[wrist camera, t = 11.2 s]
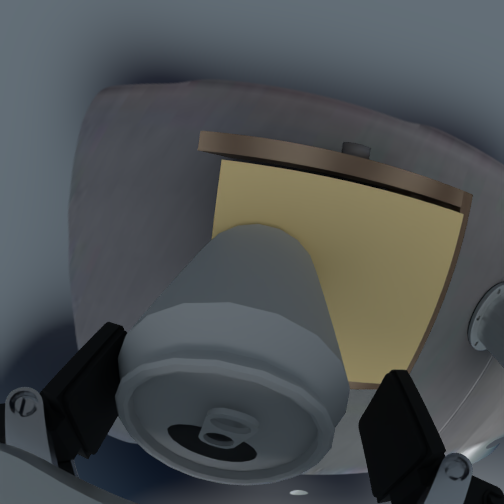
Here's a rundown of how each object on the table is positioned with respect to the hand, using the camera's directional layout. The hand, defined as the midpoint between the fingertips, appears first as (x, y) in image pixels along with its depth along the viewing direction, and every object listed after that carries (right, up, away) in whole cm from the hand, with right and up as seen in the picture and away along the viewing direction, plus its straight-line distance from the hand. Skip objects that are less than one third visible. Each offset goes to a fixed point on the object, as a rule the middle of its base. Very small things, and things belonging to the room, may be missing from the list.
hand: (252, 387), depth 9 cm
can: (0, +3, +9) cm, 9 cm away
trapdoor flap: (+5, +2, +9) cm, 11 cm away
